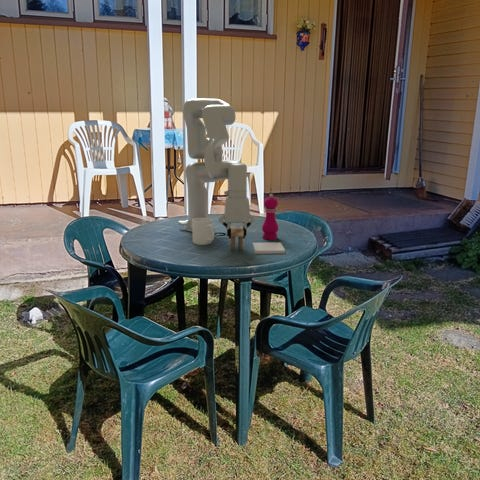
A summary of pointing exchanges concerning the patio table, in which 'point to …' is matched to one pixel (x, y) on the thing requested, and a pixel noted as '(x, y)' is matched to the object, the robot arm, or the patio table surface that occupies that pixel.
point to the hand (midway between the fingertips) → (236, 237)
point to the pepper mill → (270, 219)
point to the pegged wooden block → (237, 232)
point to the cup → (202, 231)
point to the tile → (268, 248)
